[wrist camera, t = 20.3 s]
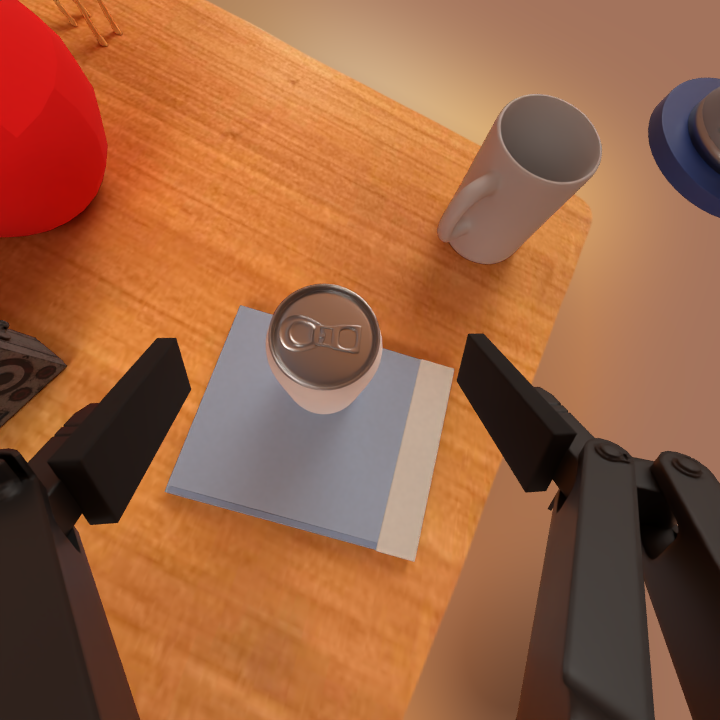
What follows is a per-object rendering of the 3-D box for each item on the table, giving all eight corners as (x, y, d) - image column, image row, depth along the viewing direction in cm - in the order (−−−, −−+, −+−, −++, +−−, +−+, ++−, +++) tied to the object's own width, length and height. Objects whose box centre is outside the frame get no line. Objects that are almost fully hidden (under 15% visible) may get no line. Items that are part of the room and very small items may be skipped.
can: (291, 337, 28) (269, 268, 17) (364, 345, 29) (392, 283, 17) (281, 411, 27) (249, 392, 15) (358, 418, 27) (384, 405, 16)
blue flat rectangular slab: (449, 371, 30) (454, 368, 29) (410, 556, 26) (414, 562, 25) (243, 309, 30) (239, 303, 28) (170, 490, 26) (163, 492, 24)
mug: (487, 183, 36) (555, 77, 25) (534, 243, 35) (626, 158, 24) (400, 228, 33) (436, 131, 23) (447, 294, 32) (508, 225, 22)
